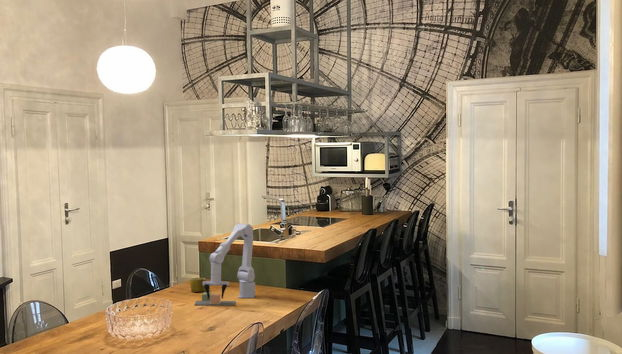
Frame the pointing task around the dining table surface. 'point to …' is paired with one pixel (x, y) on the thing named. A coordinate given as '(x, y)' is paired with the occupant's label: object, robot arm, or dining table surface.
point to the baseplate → (221, 303)
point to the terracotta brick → (215, 298)
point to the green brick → (205, 297)
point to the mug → (197, 284)
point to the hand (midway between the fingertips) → (215, 298)
